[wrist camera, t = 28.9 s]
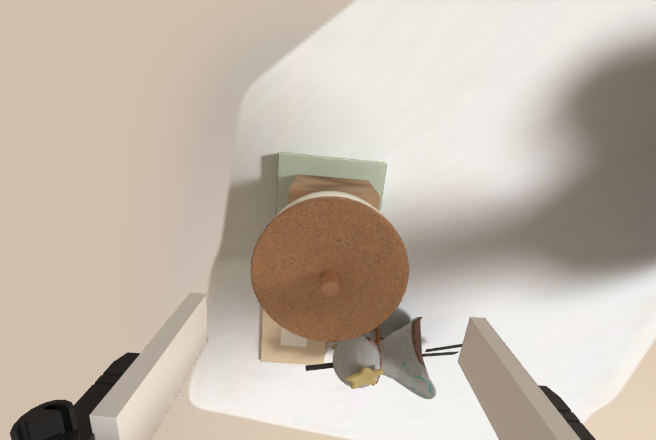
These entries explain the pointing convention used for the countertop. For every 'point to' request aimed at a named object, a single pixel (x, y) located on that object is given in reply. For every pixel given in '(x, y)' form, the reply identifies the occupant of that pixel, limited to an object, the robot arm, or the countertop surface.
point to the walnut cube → (333, 187)
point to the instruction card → (288, 345)
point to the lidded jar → (329, 267)
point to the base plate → (326, 172)
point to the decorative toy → (385, 360)
